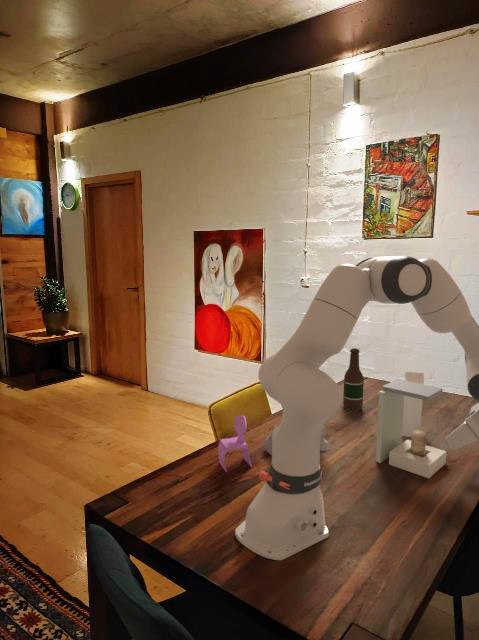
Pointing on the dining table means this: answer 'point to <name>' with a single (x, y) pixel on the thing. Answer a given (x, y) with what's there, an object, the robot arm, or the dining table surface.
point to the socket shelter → (392, 429)
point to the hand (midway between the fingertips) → (448, 441)
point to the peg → (418, 443)
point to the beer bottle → (353, 384)
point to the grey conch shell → (269, 443)
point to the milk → (412, 407)
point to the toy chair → (235, 442)
